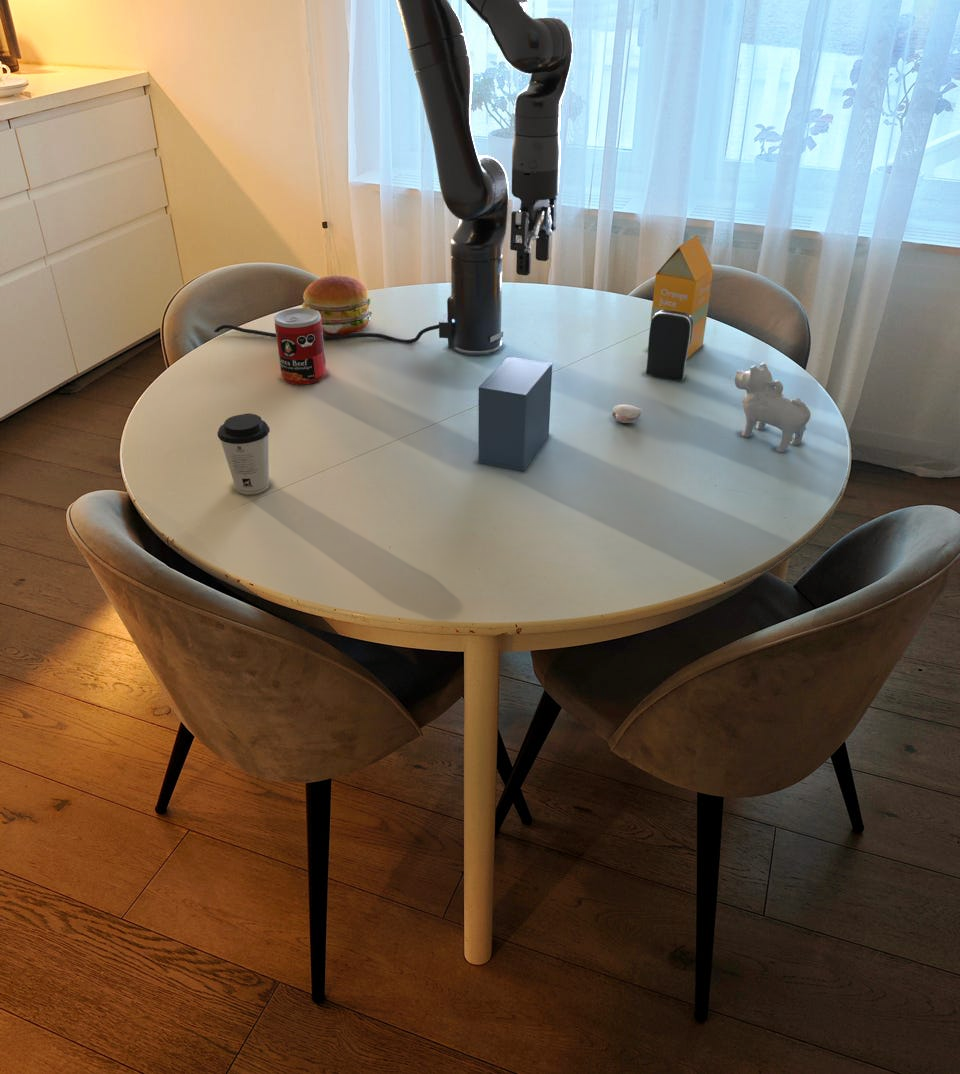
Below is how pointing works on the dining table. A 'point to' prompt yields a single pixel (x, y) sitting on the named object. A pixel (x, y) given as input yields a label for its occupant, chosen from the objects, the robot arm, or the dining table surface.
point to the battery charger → (669, 344)
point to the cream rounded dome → (626, 413)
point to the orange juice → (686, 287)
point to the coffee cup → (246, 452)
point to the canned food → (300, 345)
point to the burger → (339, 304)
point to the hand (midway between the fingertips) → (532, 267)
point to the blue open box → (514, 413)
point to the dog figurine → (771, 406)
